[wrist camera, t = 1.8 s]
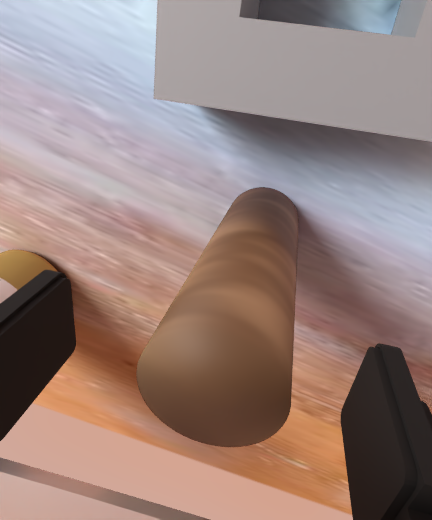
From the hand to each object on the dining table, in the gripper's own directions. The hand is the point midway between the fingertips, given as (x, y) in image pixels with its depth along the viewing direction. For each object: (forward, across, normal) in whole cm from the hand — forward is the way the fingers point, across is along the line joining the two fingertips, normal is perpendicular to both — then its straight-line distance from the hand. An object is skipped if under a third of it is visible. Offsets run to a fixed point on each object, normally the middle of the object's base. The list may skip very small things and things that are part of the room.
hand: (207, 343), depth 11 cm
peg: (+12, -1, +1) cm, 13 cm away
